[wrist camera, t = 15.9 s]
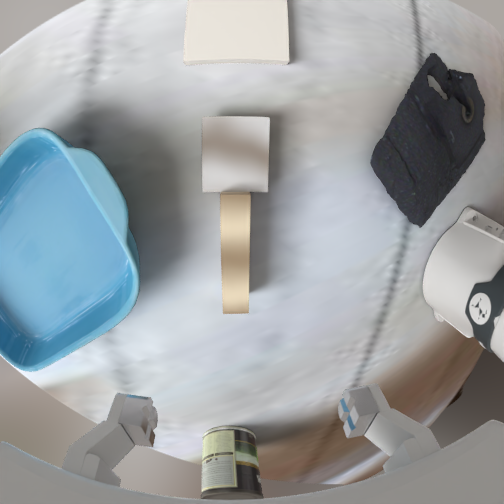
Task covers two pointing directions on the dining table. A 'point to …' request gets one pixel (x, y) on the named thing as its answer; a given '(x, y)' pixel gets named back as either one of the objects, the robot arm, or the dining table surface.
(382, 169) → the black folded cloth
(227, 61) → the tile
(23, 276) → the casserole dish
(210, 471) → the coffee can
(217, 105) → the dining table surface
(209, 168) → the turner
